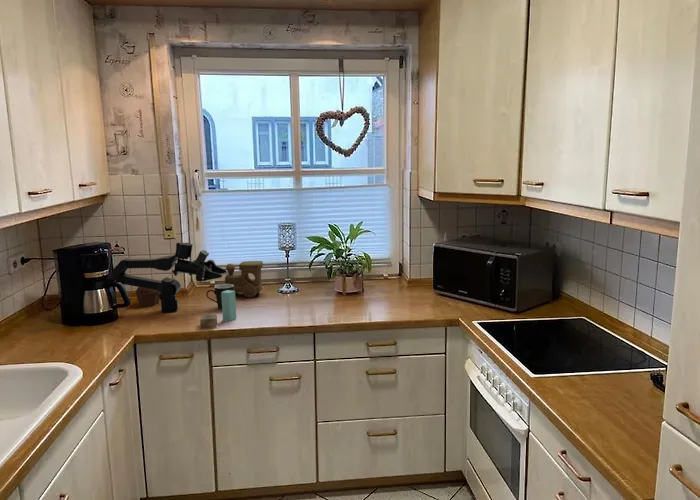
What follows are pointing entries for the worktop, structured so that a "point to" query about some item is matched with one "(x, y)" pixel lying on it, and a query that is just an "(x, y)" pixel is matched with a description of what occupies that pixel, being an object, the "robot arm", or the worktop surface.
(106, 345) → the worktop surface
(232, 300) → the tall block
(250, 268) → the wooden toy train
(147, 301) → the muffin
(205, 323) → the base block
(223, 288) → the coffee mug
